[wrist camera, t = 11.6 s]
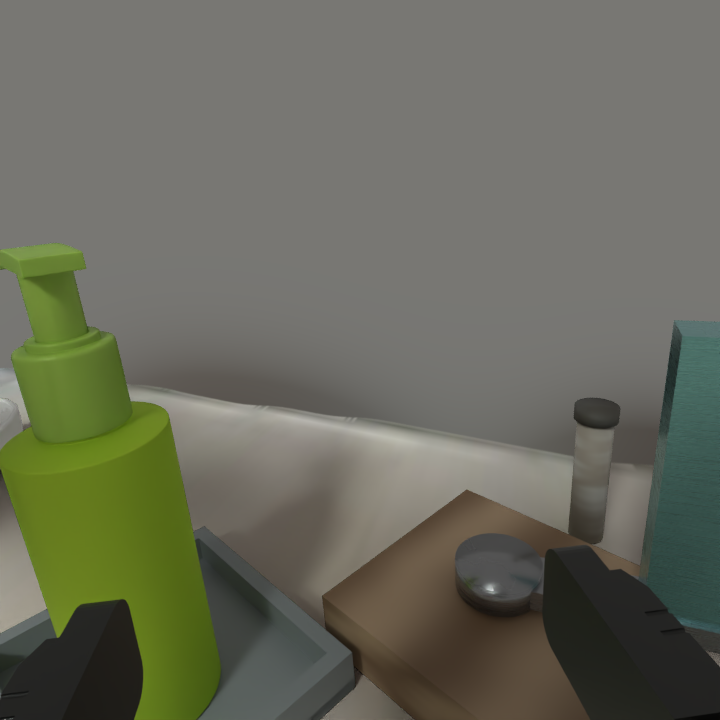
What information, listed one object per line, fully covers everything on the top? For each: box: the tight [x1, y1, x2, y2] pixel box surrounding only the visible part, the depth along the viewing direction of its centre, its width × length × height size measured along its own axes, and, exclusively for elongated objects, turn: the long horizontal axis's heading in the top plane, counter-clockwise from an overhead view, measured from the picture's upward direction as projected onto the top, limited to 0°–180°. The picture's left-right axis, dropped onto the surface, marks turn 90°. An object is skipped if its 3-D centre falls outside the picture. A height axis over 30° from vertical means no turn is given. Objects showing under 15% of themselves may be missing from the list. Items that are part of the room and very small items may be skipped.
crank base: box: [322, 398, 640, 720], centre depth 27 cm, size 12×18×9 cm
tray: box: [0, 526, 355, 720], centre depth 25 cm, size 14×13×2 cm
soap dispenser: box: [0, 243, 221, 720], centre depth 21 cm, size 6×7×20 cm
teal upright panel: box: [455, 320, 720, 654], centre depth 21 cm, size 13×4×13 cm, turn 68°
